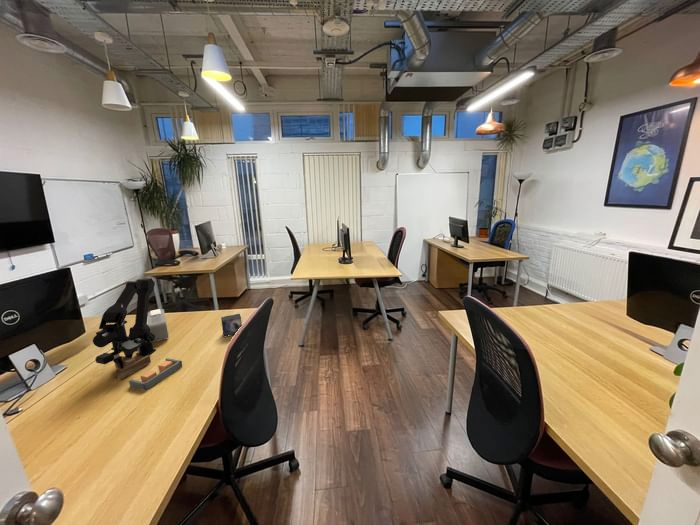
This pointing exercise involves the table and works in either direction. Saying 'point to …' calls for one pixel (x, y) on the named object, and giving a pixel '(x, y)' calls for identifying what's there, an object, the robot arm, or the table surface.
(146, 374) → the chip
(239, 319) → the small box
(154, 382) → the tray
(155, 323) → the light grey rounded block
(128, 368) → the brown angular piece
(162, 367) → the orange cube
